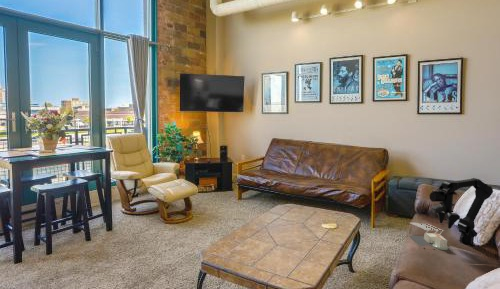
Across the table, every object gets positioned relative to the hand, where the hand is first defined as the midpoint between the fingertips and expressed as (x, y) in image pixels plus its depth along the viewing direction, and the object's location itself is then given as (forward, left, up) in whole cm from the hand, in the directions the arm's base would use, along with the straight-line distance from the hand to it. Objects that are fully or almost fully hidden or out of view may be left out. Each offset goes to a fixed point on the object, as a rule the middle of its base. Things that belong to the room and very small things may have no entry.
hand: (444, 225), depth 199 cm
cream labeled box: (+4, -3, -11) cm, 13 cm away
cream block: (+5, +6, -11) cm, 13 cm away
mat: (+8, -1, -12) cm, 15 cm away
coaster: (+5, +6, -11) cm, 14 cm away
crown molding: (-4, -25, -13) cm, 28 cm away
